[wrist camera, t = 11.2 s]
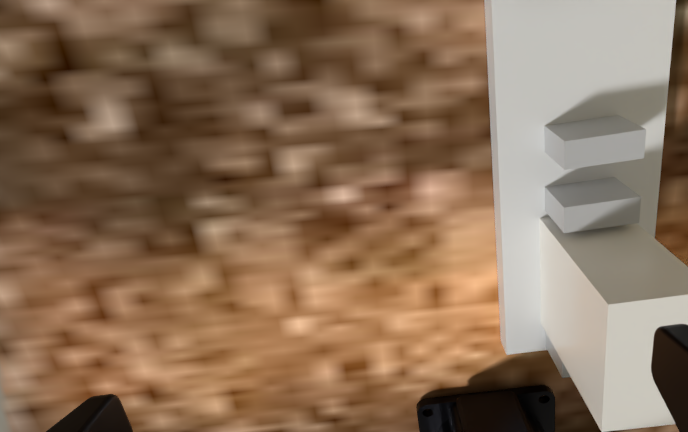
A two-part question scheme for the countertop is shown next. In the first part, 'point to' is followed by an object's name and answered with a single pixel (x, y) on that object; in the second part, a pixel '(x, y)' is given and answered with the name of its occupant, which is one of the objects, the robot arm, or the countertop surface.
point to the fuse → (611, 316)
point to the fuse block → (571, 133)
